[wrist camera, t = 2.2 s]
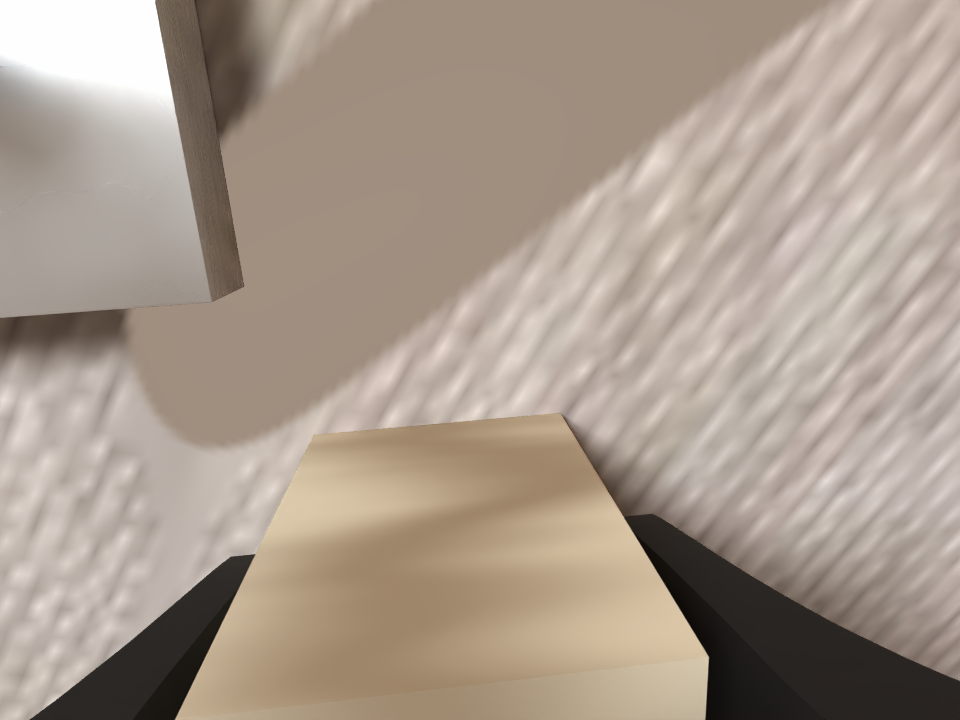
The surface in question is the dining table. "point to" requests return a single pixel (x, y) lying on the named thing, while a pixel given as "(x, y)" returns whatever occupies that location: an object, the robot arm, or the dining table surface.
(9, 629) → the dining table surface
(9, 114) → the silver peg base
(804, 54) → the dining table surface
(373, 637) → the birch block
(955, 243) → the dining table surface
